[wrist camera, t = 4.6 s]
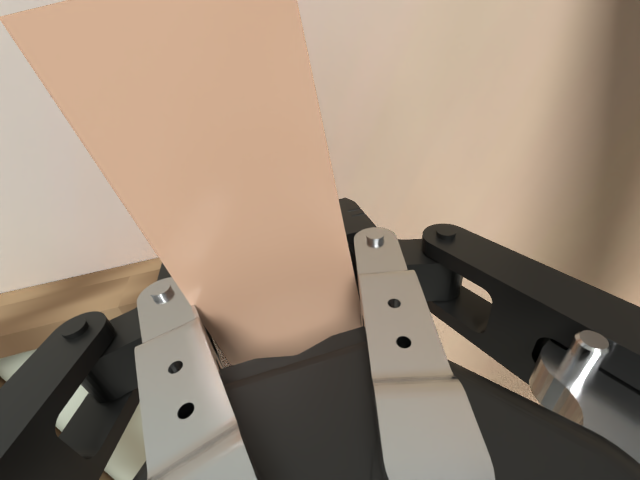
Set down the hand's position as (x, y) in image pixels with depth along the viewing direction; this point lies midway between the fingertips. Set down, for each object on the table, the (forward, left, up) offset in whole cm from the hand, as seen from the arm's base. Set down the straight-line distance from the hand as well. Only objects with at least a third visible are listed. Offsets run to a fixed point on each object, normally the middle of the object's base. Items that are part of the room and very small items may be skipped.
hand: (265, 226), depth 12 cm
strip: (0, 0, -1) cm, 1 cm away
